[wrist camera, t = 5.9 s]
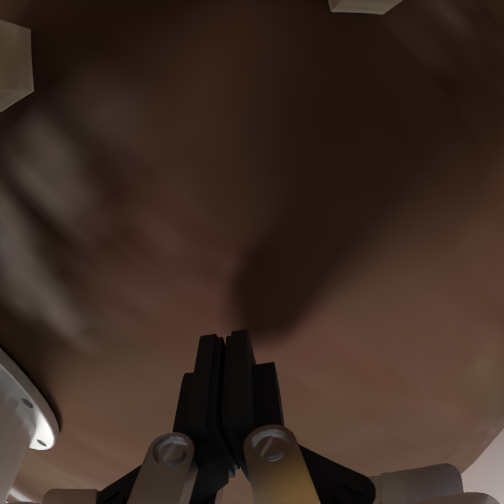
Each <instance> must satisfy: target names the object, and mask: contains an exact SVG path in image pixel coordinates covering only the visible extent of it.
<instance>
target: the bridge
mask: <svg viewBox="0 0 504 504" xmlns="http://www.w3.org/2000/svg"><path fill="white" fill-rule="evenodd" d="M401 1H403V0H328V3H329V6H330V10H331V12H353V13H371V14H382V15H383V14H384V13H386V12H387V11H389V10H390V9H391V8H393V7H394V6H396V5H397V4H399V3H400V2H401ZM32 92H34V84H33V72H32V55H31V29H28V28H25V27H22V26H19V25H16V24H13V23H10V22H6V21H3V20H0V112H2V111H4V110H5V109H7V108H8V107H10V106H11V105H13V104H14V103H16V102H17V101H19V100H21V99H22V98H24V97H25V96H27V95H29V94H30V93H32Z"/></svg>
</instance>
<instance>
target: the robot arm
mask: <svg viewBox="0 0 504 504" xmlns="http://www.w3.org/2000/svg"><path fill="white" fill-rule="evenodd" d="M58 434H59V428H58V424H57V421H56V418H55V416H54V414H53V412H52V410H51V409H50V407H49V405H48V403H47V402H46V400H45V399H44V398H43V396H42V395H41V393H40V392H39V391H38V389H37V388H36V387H35V386H34V384H33V383H32V382H31V381H30V379H29V378H28V377H27V376H26V375H25V373H24V372H23V371H22V370H21V369H20V368H19V367H18V366H17V365H16V363H15V362H14V361H13V360H12V359H11V358H10V357H9V356H8V355H7V354H6V353H5V352H4V351H3V350H2V349H1V348H0V504H5V503H6V501H7V498H8V496H9V493H10V491H11V488H12V486H13V483H14V481H15V478H16V476H17V474H18V471H19V469H20V467H21V464H22V462H23V460H24V458H25V456H26V453H27V451H28V449H29V447H30V448H34V449H38V450H46V449H49V448H52V447H53V445H54V444H55V442H56V440H57V437H58ZM240 467H241V469H242V471H243V472H244V474H245V476H246V478H247V480H248V481H249V482H250V483H251V486H252V491H253V495H254V499H255V503H256V504H499V502H498V501H497V500H496V499H495V498H493V497H492V496H490V495H488V494H485V493H478V492H466V493H464V492H463V484H462V478H461V474H460V472H459V470H458V469H457V468H456V467H455V466H454V465H451V464H448V463H443V464H436V465H431V466H426V467H421V468H415V469H410V470H403V471H396V472H389V473H381V476H372V477H366V476H364V475H362V474H360V473H358V472H355V471H353V470H351V469H349V468H346V467H344V466H342V465H340V464H338V463H335V462H333V461H331V460H329V459H327V458H325V457H323V456H321V455H319V454H317V453H315V452H313V451H311V450H309V449H307V448H305V447H303V446H301V445H299V444H298V442H297V440H296V437H295V435H294V434H293V432H292V431H290V430H289V429H288V428H286V427H285V426H284V419H283V411H282V404H281V397H280V390H279V384H278V378H277V373H276V368H275V363H274V362H270V363H264V364H258V365H256V362H255V357H254V353H253V349H252V345H251V341H250V337H249V333H248V330H247V329H246V330H239V331H233V332H232V334H231V336H227V337H226V346H225V342H224V339H223V337H220V338H218V337H217V335H216V334H212V335H205V336H201V337H200V340H199V346H198V352H197V357H196V363H195V369H194V373H185V374H184V376H183V380H182V385H181V390H180V395H179V400H178V405H177V411H176V416H175V421H174V427H173V432H169V433H166V434H163V435H161V436H159V437H157V438H156V439H155V440H154V441H153V442H152V443H151V445H150V447H149V449H148V451H147V454H146V456H145V459H144V461H143V464H142V465H140V466H139V467H137V468H136V469H134V470H133V471H131V472H130V473H128V474H127V475H125V476H124V477H122V478H120V479H119V480H117V481H116V482H114V483H112V484H111V485H109V486H108V487H106V488H105V489H103V490H102V491H98V490H97V489H51V490H49V491H48V492H46V494H45V495H44V497H43V500H42V504H221V499H222V494H223V487H224V486H225V485H226V484H227V483H228V482H229V478H233V477H235V470H237V469H240ZM6 504H38V503H33V502H22V501H19V502H10V503H6Z"/></svg>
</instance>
